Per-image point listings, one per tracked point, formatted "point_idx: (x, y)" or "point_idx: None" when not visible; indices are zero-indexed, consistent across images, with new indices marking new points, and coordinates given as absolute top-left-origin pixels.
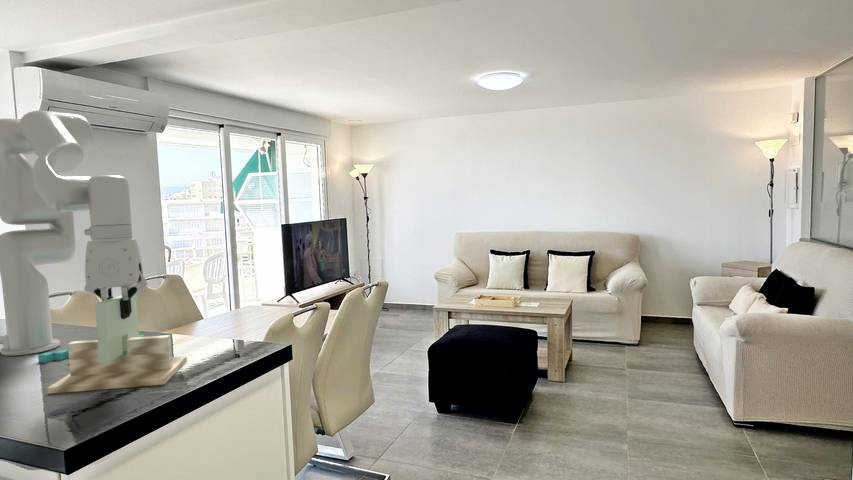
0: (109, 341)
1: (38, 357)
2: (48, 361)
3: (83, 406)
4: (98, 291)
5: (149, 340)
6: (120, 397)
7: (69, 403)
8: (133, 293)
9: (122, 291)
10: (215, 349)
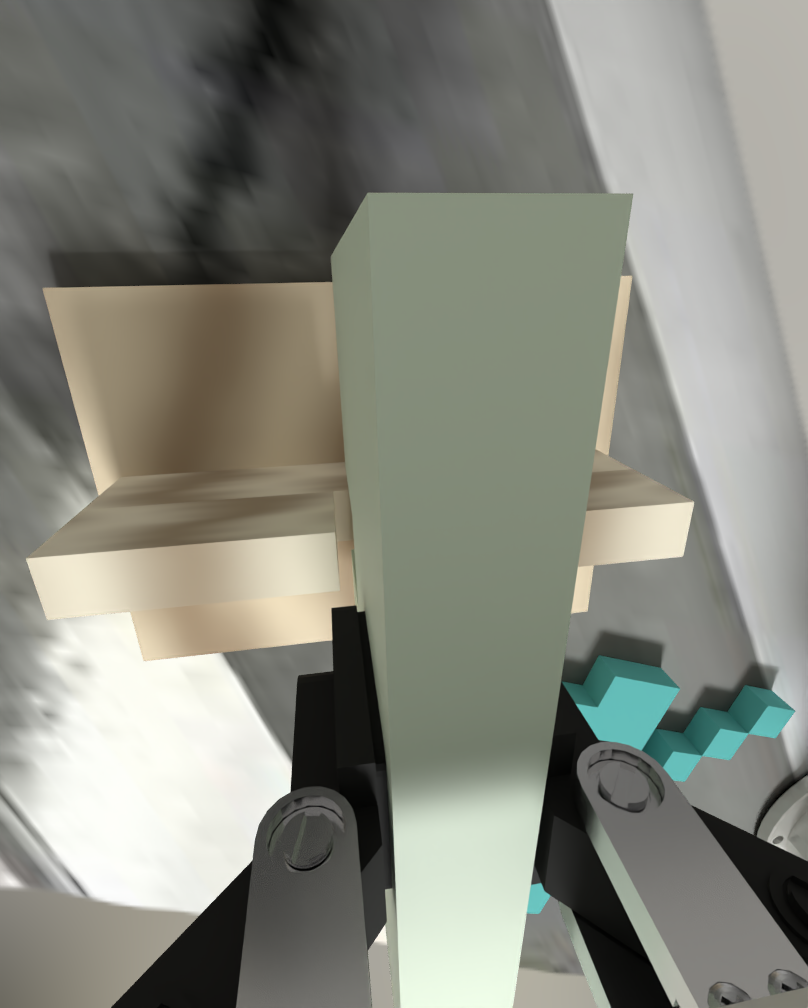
0: (336, 272)
1: (786, 704)
2: (741, 692)
3: None
4: (806, 922)
5: (173, 538)
6: (209, 103)
7: (455, 74)
8: (165, 958)
9: (347, 966)
10: (100, 788)
